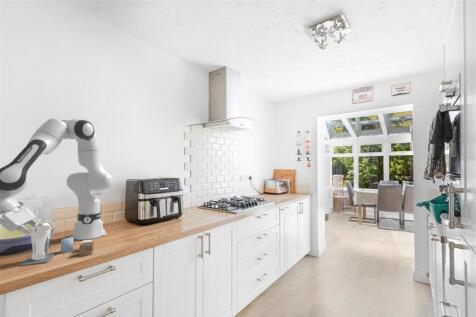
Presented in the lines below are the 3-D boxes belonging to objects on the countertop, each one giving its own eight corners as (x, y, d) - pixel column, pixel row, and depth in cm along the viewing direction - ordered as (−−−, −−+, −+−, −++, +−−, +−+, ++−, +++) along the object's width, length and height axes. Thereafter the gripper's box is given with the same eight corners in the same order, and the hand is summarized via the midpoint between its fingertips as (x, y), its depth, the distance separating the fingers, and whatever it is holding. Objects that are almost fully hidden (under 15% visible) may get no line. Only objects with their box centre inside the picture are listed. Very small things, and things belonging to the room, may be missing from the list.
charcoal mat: (31, 256, 108) (31, 255, 108) (55, 253, 111) (55, 252, 111) (20, 266, 97) (20, 265, 97) (47, 262, 100) (47, 261, 100)
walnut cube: (81, 252, 113) (81, 242, 113) (93, 251, 115) (93, 241, 115) (79, 256, 108) (79, 245, 109) (91, 254, 110) (92, 244, 111)
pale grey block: (83, 248, 120) (83, 240, 120) (91, 247, 121) (92, 239, 122) (79, 252, 114) (79, 243, 115) (88, 251, 116) (89, 242, 116)
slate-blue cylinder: (62, 250, 116) (62, 238, 116) (74, 249, 118) (74, 237, 118) (59, 253, 111) (59, 241, 112) (71, 252, 113) (72, 239, 114)
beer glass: (27, 258, 103) (29, 224, 104) (47, 254, 109) (48, 222, 110) (32, 262, 99) (34, 227, 100) (52, 257, 105) (53, 224, 106)
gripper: (1, 208, 92) (31, 230, 95) (23, 201, 111) (48, 220, 114) (-15, 220, 90) (16, 243, 93) (11, 211, 108) (36, 231, 112)
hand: (34, 230), depth 104 cm, fingers open, 8 cm apart
